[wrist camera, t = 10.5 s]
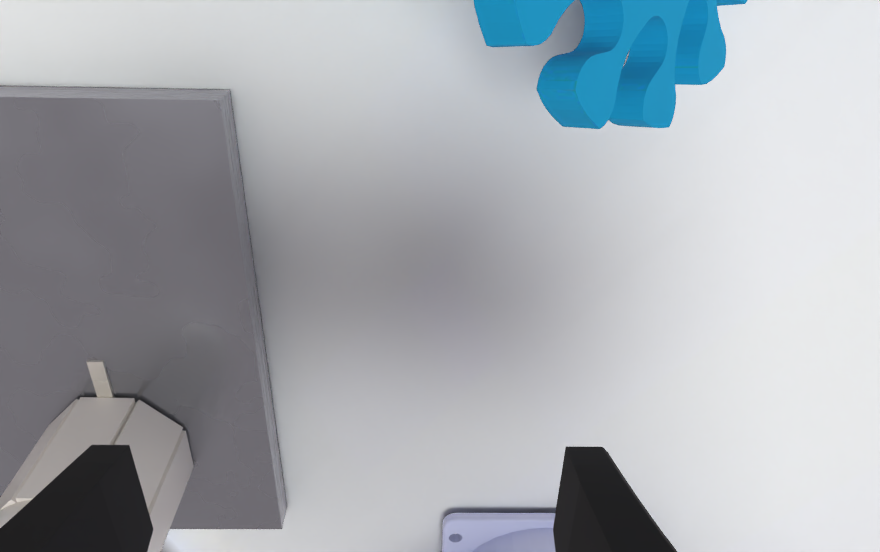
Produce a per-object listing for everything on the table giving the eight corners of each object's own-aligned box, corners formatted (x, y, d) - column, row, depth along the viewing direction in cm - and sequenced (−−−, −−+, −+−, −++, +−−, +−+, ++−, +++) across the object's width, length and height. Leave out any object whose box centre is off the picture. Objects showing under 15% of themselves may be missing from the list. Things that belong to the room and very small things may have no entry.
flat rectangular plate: (286, 507, 26) (261, 618, 22) (22, 506, 26) (-50, 618, 22) (229, 89, 18) (174, 148, 14) (-157, 83, 18) (-323, 140, 14)
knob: (200, 493, 24) (142, 654, 19) (71, 492, 24) (-20, 653, 19) (178, 398, 22) (106, 555, 17) (36, 396, 21) (-79, 553, 17)
